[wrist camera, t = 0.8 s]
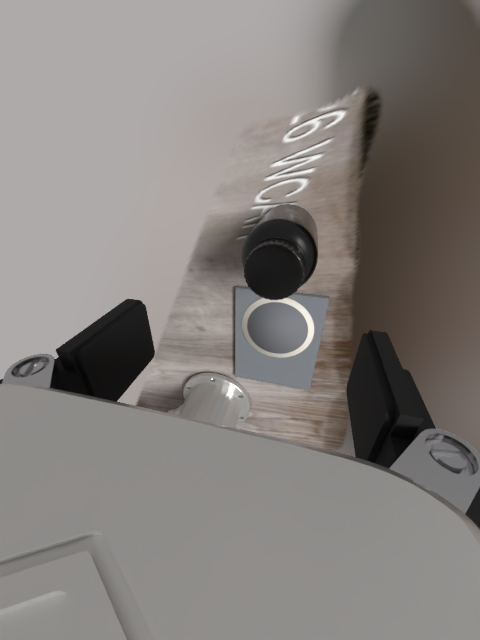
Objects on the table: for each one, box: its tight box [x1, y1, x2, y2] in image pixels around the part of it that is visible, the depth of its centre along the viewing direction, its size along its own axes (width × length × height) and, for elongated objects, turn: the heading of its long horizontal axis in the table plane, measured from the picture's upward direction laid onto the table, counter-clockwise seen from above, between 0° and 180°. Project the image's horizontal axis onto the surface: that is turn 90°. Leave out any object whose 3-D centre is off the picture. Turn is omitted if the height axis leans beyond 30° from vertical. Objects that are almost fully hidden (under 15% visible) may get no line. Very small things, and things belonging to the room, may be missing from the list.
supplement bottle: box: [242, 204, 318, 300], centre depth 25 cm, size 7×7×12 cm
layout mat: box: [235, 286, 329, 390], centre depth 38 cm, size 16×12×1 cm
